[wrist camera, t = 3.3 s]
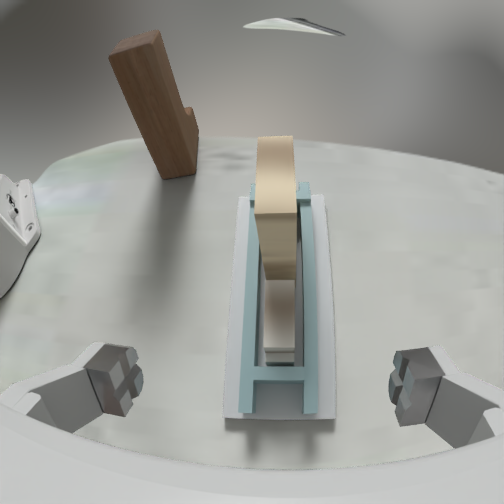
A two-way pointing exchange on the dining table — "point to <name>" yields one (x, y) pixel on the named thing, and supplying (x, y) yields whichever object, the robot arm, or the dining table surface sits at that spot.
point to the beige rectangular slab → (276, 207)
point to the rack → (306, 323)
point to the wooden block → (156, 103)
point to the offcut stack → (279, 322)
